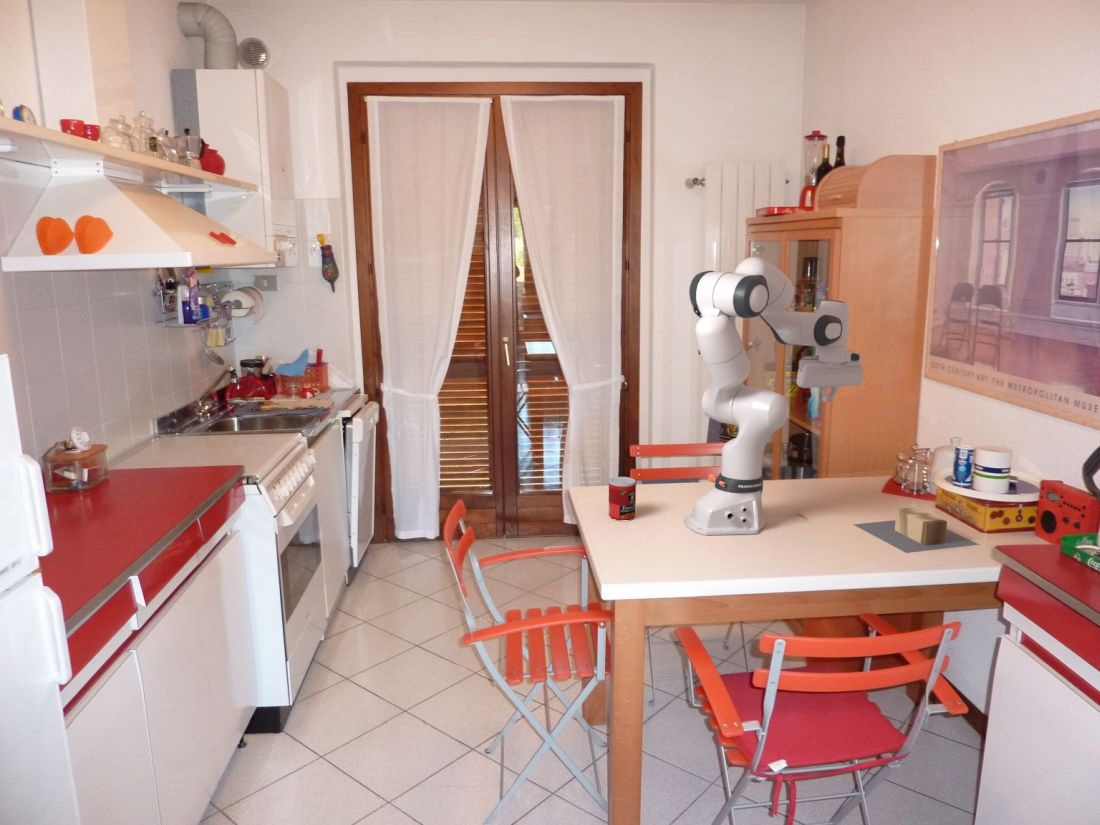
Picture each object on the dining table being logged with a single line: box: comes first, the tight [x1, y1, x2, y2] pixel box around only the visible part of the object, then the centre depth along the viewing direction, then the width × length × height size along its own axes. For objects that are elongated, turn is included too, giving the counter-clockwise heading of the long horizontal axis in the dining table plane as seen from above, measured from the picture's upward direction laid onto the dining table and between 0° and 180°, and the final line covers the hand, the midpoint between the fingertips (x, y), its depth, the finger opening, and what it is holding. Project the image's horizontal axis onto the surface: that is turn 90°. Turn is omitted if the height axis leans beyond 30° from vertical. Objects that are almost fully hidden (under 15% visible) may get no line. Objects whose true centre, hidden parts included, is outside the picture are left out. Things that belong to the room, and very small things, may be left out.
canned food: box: [608, 476, 637, 521], centre depth 231 cm, size 8×8×11 cm
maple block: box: [894, 506, 948, 546], centre depth 212 cm, size 6×6×12 cm
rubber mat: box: [852, 519, 980, 554], centre depth 215 cm, size 22×22×1 cm
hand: (828, 401), depth 239 cm, fingers closed
